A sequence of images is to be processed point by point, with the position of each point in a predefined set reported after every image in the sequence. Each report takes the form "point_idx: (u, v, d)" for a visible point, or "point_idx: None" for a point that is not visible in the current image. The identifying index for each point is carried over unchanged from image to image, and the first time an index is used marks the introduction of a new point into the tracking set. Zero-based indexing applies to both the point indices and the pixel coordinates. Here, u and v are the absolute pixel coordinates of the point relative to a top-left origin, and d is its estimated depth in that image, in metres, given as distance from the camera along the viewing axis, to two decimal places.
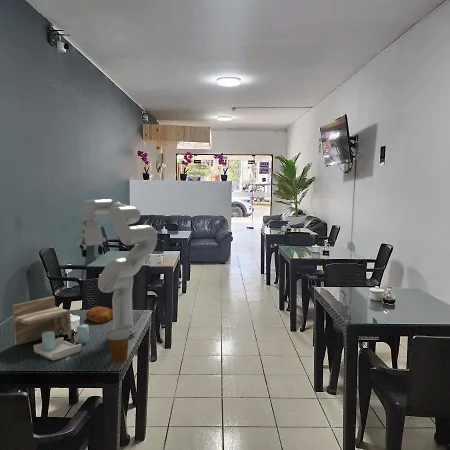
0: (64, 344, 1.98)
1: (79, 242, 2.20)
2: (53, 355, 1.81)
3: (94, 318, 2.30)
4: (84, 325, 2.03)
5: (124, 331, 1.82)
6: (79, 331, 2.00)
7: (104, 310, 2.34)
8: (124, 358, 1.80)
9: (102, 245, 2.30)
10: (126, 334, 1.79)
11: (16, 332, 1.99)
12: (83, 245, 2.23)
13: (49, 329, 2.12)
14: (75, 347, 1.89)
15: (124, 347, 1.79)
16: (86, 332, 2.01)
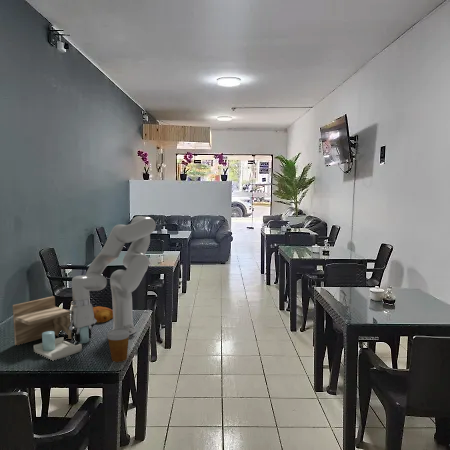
0: (64, 344, 1.98)
1: (70, 328, 1.97)
2: (53, 355, 1.81)
3: None
4: None
5: (124, 331, 1.82)
6: (79, 331, 2.00)
7: (104, 310, 2.34)
8: (124, 358, 1.80)
9: (91, 328, 2.05)
10: (126, 334, 1.79)
11: (16, 332, 1.99)
12: (75, 328, 2.01)
13: (49, 329, 2.12)
14: (75, 347, 1.89)
15: (124, 347, 1.79)
16: (86, 332, 2.01)
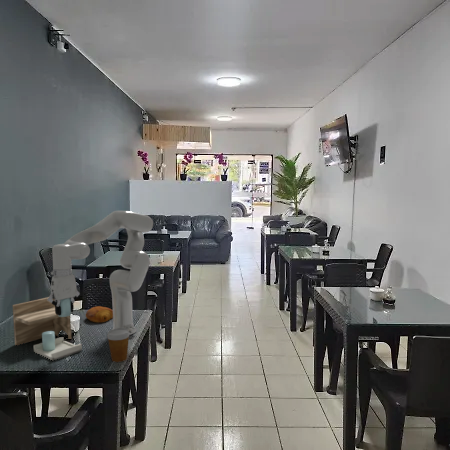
0: (64, 344, 1.98)
1: (50, 299, 1.82)
2: (53, 355, 1.81)
3: (94, 318, 2.30)
4: None
5: (124, 331, 1.82)
6: (60, 303, 1.86)
7: (104, 310, 2.34)
8: (124, 358, 1.80)
9: (73, 301, 1.90)
10: (126, 334, 1.79)
11: (16, 332, 1.99)
12: (56, 300, 1.86)
13: (49, 329, 2.12)
14: (75, 347, 1.89)
15: (124, 347, 1.79)
16: (67, 305, 1.87)
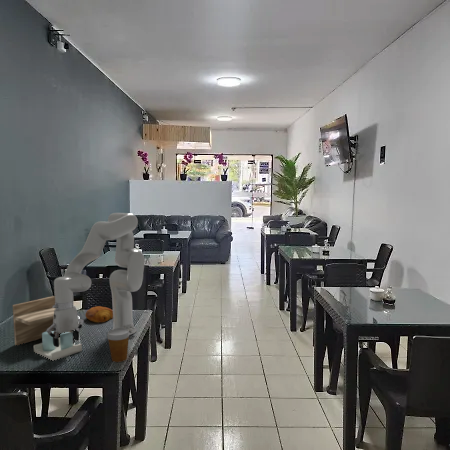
0: None
1: (49, 330, 1.83)
2: (53, 355, 1.81)
3: (93, 318, 2.30)
4: (68, 333, 1.90)
5: (124, 331, 1.82)
6: (62, 339, 1.87)
7: (103, 310, 2.34)
8: (124, 358, 1.80)
9: (78, 329, 1.93)
10: (126, 334, 1.79)
11: (16, 332, 1.99)
12: (55, 332, 1.86)
13: None
14: (75, 347, 1.89)
15: (124, 347, 1.79)
16: (70, 340, 1.88)
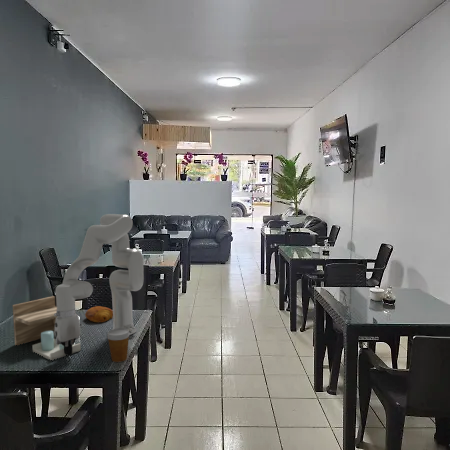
0: None
1: (58, 342, 1.81)
2: (52, 355, 1.81)
3: (93, 318, 2.30)
4: None
5: (124, 331, 1.82)
6: None
7: (103, 310, 2.34)
8: (124, 358, 1.80)
9: (72, 343, 1.85)
10: (126, 334, 1.79)
11: (16, 332, 1.99)
12: None
13: (49, 329, 2.12)
14: (74, 347, 1.89)
15: (124, 347, 1.79)
16: None
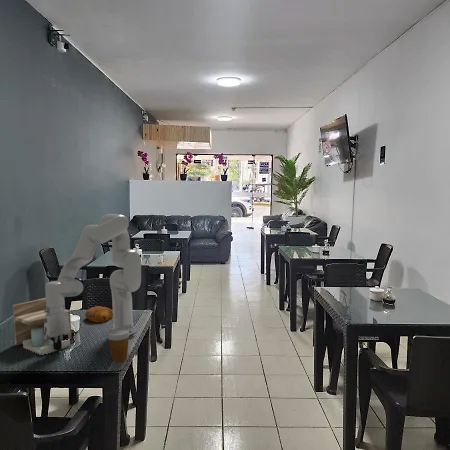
0: None
1: (48, 338, 1.86)
2: (42, 350, 1.87)
3: (93, 318, 2.30)
4: None
5: (124, 331, 1.82)
6: None
7: (103, 310, 2.35)
8: (124, 358, 1.80)
9: (61, 339, 1.91)
10: (126, 334, 1.79)
11: (16, 332, 1.99)
12: None
13: None
14: (63, 342, 1.95)
15: (124, 347, 1.79)
16: None
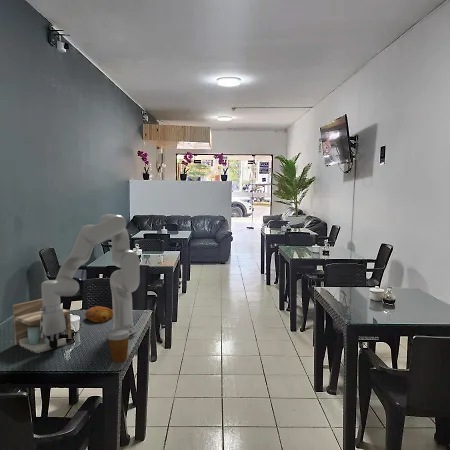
0: None
1: (44, 336, 1.89)
2: (38, 348, 1.89)
3: (93, 318, 2.30)
4: None
5: (124, 331, 1.82)
6: None
7: (103, 310, 2.35)
8: (124, 358, 1.80)
9: (57, 337, 1.93)
10: (126, 334, 1.79)
11: (16, 332, 1.99)
12: None
13: None
14: (59, 341, 1.97)
15: (124, 347, 1.79)
16: None
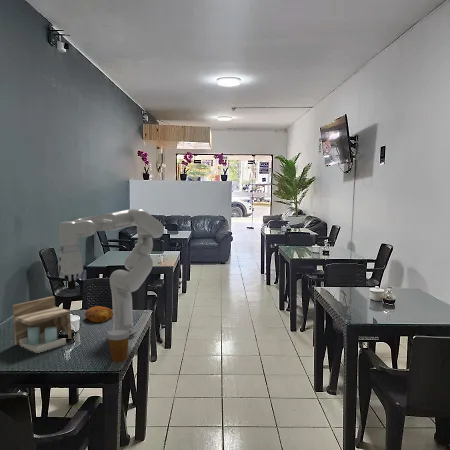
0: None
1: (62, 276, 1.89)
2: (38, 348, 1.89)
3: (93, 318, 2.30)
4: (52, 327, 1.99)
5: (124, 331, 1.82)
6: (47, 333, 1.95)
7: (103, 310, 2.35)
8: (124, 358, 1.80)
9: (75, 278, 1.94)
10: (126, 334, 1.79)
11: (16, 332, 1.99)
12: None
13: None
14: (59, 341, 1.97)
15: (124, 347, 1.79)
16: (54, 334, 1.97)
